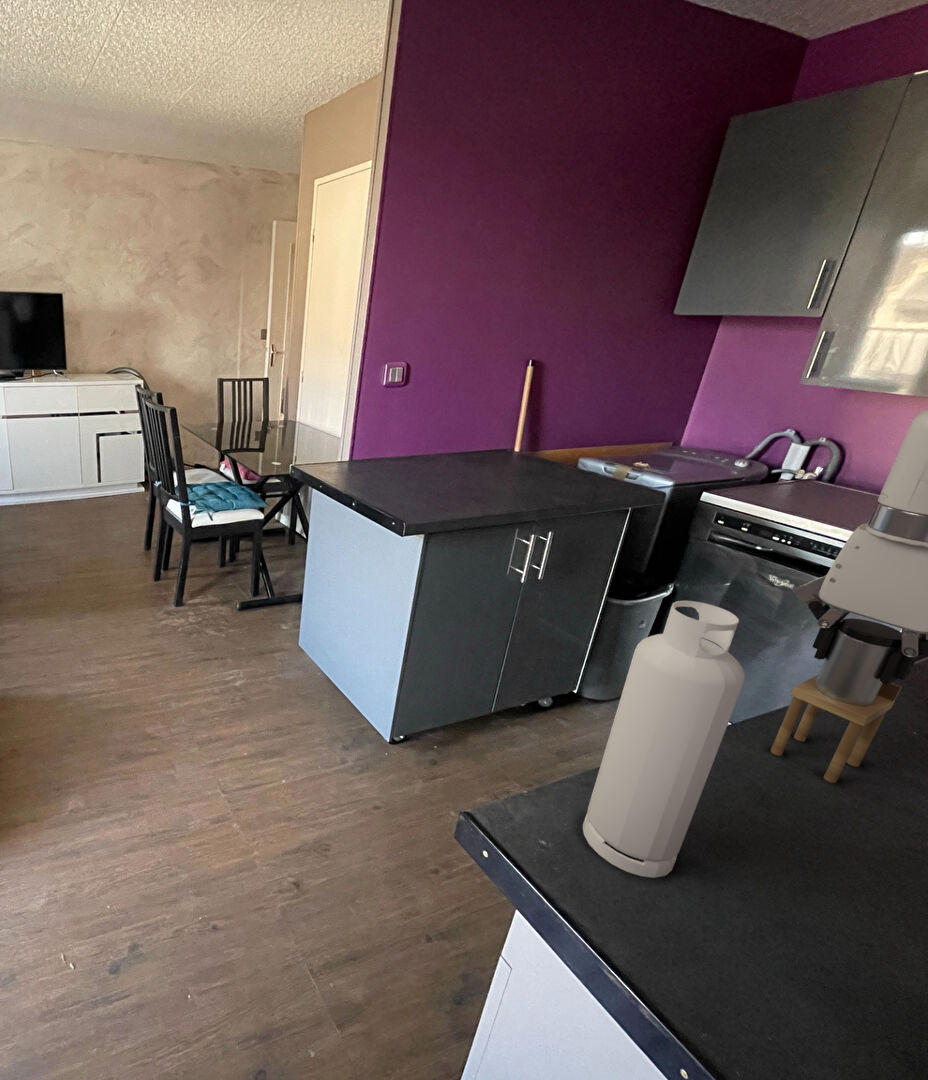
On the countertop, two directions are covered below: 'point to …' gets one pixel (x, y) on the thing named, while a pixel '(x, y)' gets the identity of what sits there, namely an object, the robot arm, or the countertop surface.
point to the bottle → (664, 740)
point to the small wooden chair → (859, 716)
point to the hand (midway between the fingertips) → (855, 666)
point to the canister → (857, 661)
